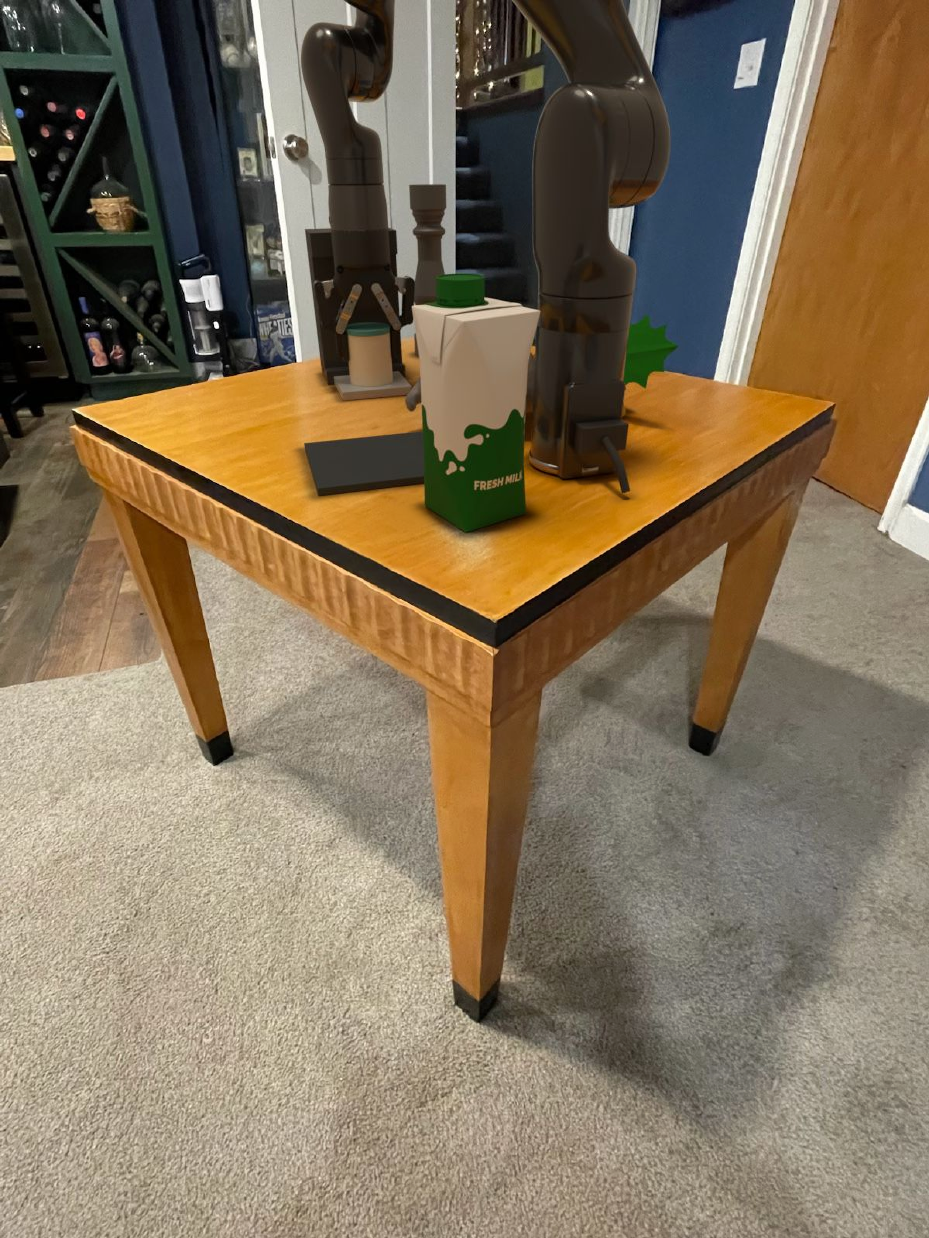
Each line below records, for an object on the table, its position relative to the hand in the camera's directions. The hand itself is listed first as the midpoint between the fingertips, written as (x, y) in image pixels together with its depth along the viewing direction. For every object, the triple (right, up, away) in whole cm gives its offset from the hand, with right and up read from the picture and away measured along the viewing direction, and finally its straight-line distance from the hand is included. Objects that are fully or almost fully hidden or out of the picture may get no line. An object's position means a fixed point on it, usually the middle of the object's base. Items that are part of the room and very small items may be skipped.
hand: (370, 358), depth 99 cm
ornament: (+32, -10, -7) cm, 34 cm away
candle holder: (+8, +8, +21) cm, 24 cm away
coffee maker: (-1, -2, +5) cm, 6 cm away
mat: (+4, -20, -23) cm, 31 cm away
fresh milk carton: (+15, -27, -33) cm, 45 cm away
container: (0, -3, +2) cm, 3 cm away
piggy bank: (+17, -13, -11) cm, 24 cm away
